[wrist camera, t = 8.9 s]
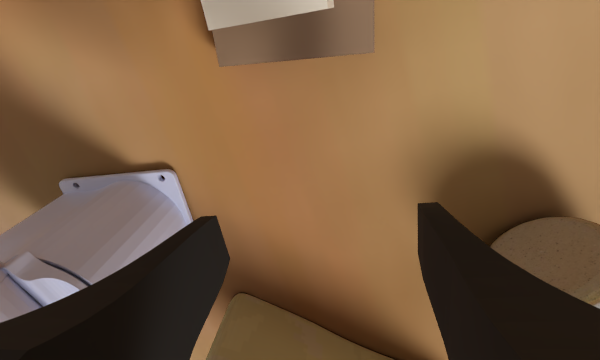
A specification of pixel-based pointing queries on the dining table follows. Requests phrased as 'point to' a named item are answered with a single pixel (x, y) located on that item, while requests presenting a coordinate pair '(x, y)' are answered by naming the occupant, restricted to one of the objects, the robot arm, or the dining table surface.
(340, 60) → the dining table surface
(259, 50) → the walnut base
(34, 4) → the dining table surface
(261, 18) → the cream cube
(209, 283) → the robot arm
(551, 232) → the ceramic mug
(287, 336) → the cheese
